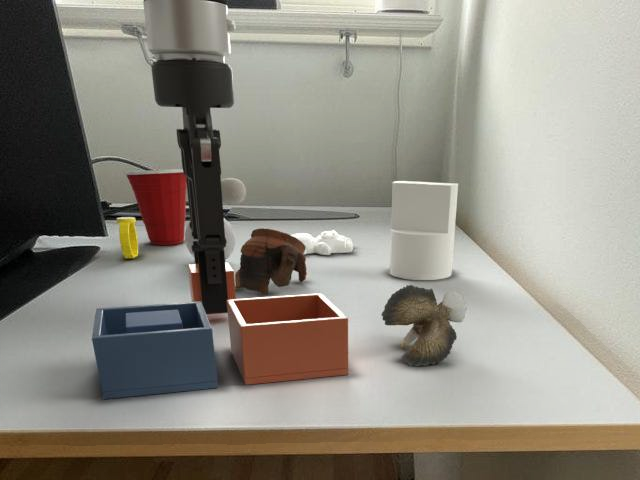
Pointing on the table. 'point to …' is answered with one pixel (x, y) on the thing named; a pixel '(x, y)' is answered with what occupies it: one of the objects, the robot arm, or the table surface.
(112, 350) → the slate bin
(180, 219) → the plastic cup
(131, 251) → the watch
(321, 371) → the terracotta bin
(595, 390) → the table surface
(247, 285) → the brown wooden carving
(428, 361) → the eagle figurine
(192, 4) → the robot arm
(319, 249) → the astronaut figurine
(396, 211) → the cylinder with rectangular tab
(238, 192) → the perfume bottle
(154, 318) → the slate block
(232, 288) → the terracotta block
